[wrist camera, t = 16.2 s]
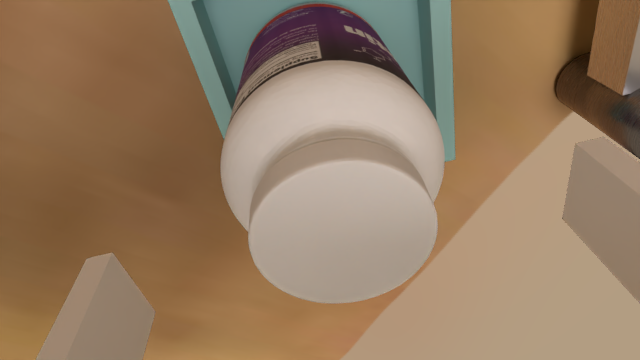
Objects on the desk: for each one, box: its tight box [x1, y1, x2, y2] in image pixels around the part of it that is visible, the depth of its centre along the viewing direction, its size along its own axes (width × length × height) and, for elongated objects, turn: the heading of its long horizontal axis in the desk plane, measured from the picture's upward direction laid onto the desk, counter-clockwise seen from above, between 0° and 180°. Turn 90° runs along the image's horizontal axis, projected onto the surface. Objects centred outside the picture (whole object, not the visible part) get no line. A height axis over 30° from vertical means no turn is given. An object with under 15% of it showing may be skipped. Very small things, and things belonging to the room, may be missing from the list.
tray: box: [168, 0, 455, 162], centre depth 23 cm, size 13×13×4 cm
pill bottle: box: [220, 2, 445, 303], centre depth 18 cm, size 8×8×14 cm
